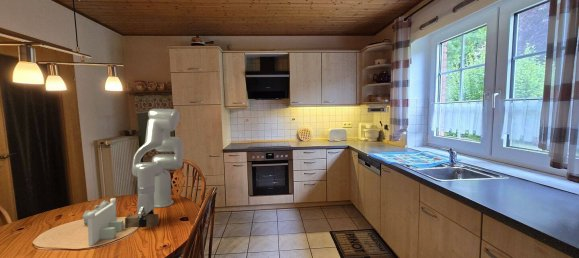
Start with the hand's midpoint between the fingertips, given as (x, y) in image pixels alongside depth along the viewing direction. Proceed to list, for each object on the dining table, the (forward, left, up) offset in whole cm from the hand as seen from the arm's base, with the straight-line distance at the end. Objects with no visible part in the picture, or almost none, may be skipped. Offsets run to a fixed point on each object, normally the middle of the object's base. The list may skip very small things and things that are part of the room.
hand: (146, 222), depth 128 cm
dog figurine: (-7, -26, -2) cm, 27 cm away
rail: (0, -2, -2) cm, 3 cm away
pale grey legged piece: (+8, -13, -1) cm, 15 cm away
